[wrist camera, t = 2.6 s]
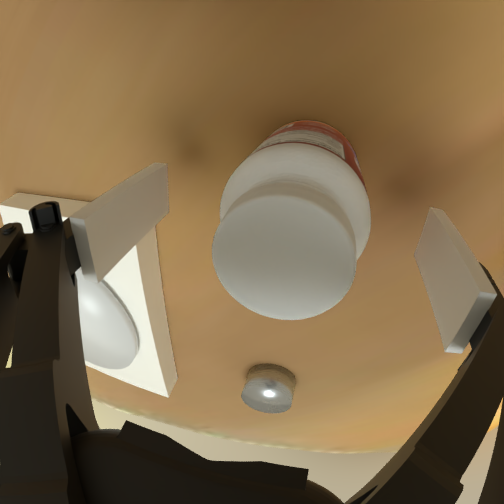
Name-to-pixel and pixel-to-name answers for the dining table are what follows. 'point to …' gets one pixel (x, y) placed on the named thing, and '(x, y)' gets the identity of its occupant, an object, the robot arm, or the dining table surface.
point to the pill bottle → (293, 223)
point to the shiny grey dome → (269, 388)
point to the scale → (117, 307)
